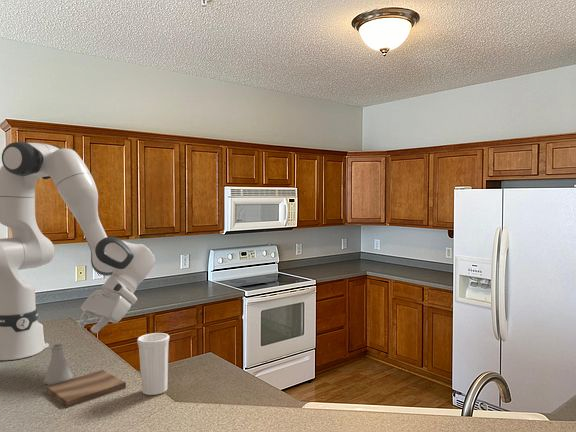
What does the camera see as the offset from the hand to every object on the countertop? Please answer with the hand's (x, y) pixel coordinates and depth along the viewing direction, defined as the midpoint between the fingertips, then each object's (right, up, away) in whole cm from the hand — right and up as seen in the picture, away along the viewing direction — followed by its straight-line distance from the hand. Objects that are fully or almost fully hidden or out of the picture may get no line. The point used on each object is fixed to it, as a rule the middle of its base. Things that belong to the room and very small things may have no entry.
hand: (86, 328), depth 130 cm
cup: (+25, -13, -15) cm, 31 cm away
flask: (-5, -13, -6) cm, 15 cm away
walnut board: (+6, -13, -13) cm, 19 cm away
